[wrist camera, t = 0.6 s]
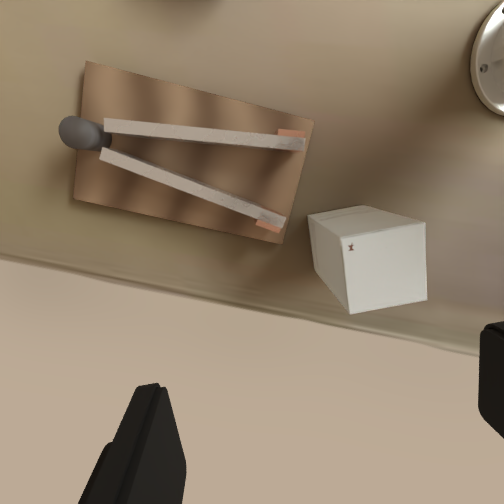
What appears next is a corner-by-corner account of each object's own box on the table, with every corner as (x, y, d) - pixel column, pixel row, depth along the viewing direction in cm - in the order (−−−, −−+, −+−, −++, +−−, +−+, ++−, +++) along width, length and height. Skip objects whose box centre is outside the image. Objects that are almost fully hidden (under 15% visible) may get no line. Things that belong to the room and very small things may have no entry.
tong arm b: (111, 165, 34) (97, 165, 30) (116, 149, 33) (102, 146, 30) (275, 227, 36) (279, 233, 33) (281, 213, 36) (286, 217, 32)
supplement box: (313, 271, 40) (346, 317, 28) (306, 213, 38) (338, 235, 26) (370, 261, 40) (429, 302, 28) (366, 203, 38) (427, 219, 26)
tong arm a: (117, 135, 33) (104, 131, 30) (117, 116, 32) (103, 110, 29) (297, 152, 34) (303, 151, 31) (299, 135, 34) (306, 131, 30)
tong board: (79, 197, 36) (46, 203, 30) (92, 65, 33) (58, 41, 27) (280, 241, 39) (288, 255, 32) (311, 122, 35) (327, 112, 29)
